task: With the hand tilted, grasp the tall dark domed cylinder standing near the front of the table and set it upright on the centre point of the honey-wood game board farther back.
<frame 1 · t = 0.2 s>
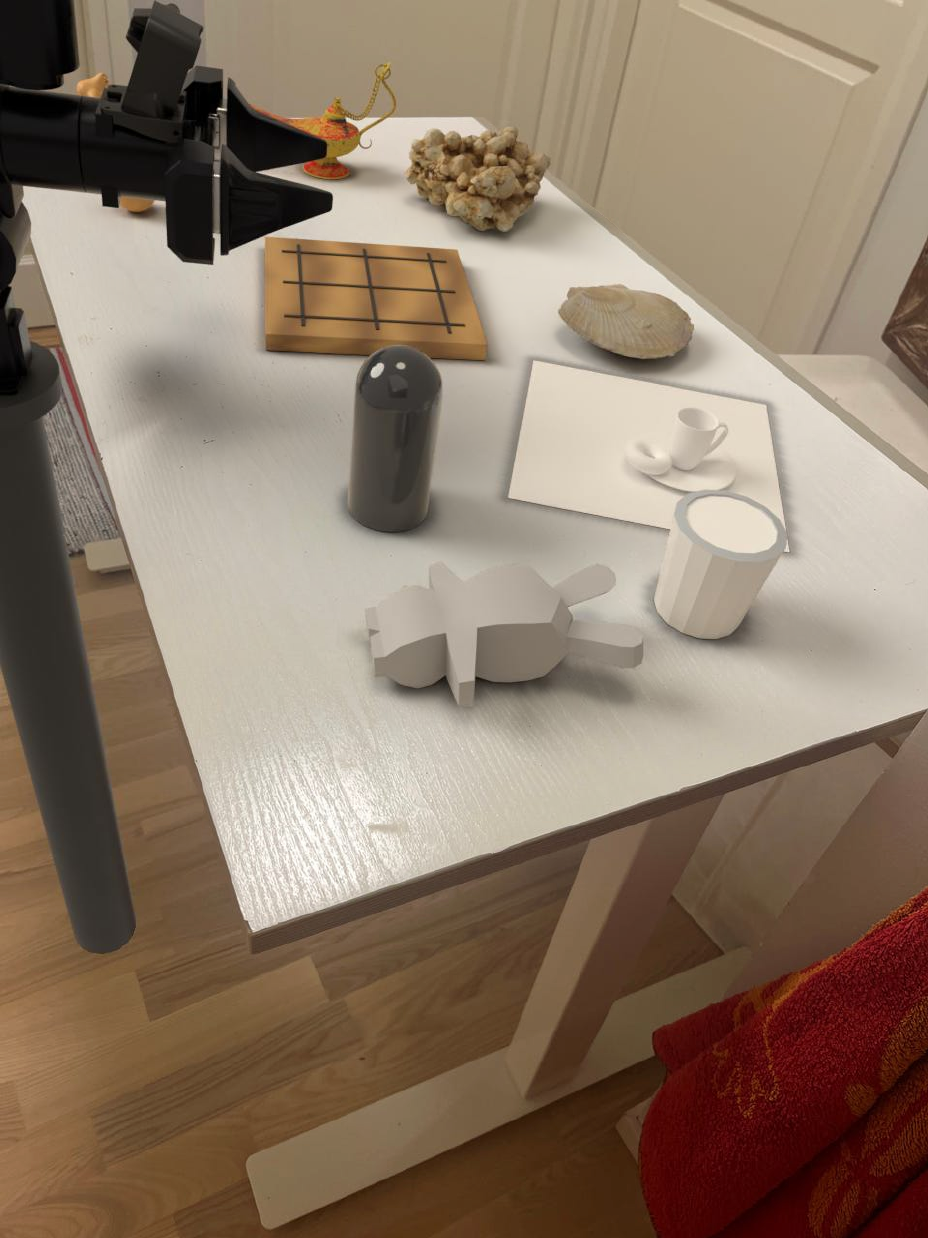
hand: (329, 174, 68), 15 cm above the table, tool horizontal, fingers open, 9 cm apart
seashell: (617, 340, 89), on the table
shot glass: (695, 610, 64), on the table
board: (369, 303, 88), on the table
teacup and saucer: (648, 449, 77), on the table
mineral formation: (484, 214, 106), on the table
magic lamp: (311, 171, 108), on the table
dark domed cylinder: (387, 506, 67), on the table
bunny figurine: (493, 658, 58), on the table
figurine: (125, 212, 95), on the table
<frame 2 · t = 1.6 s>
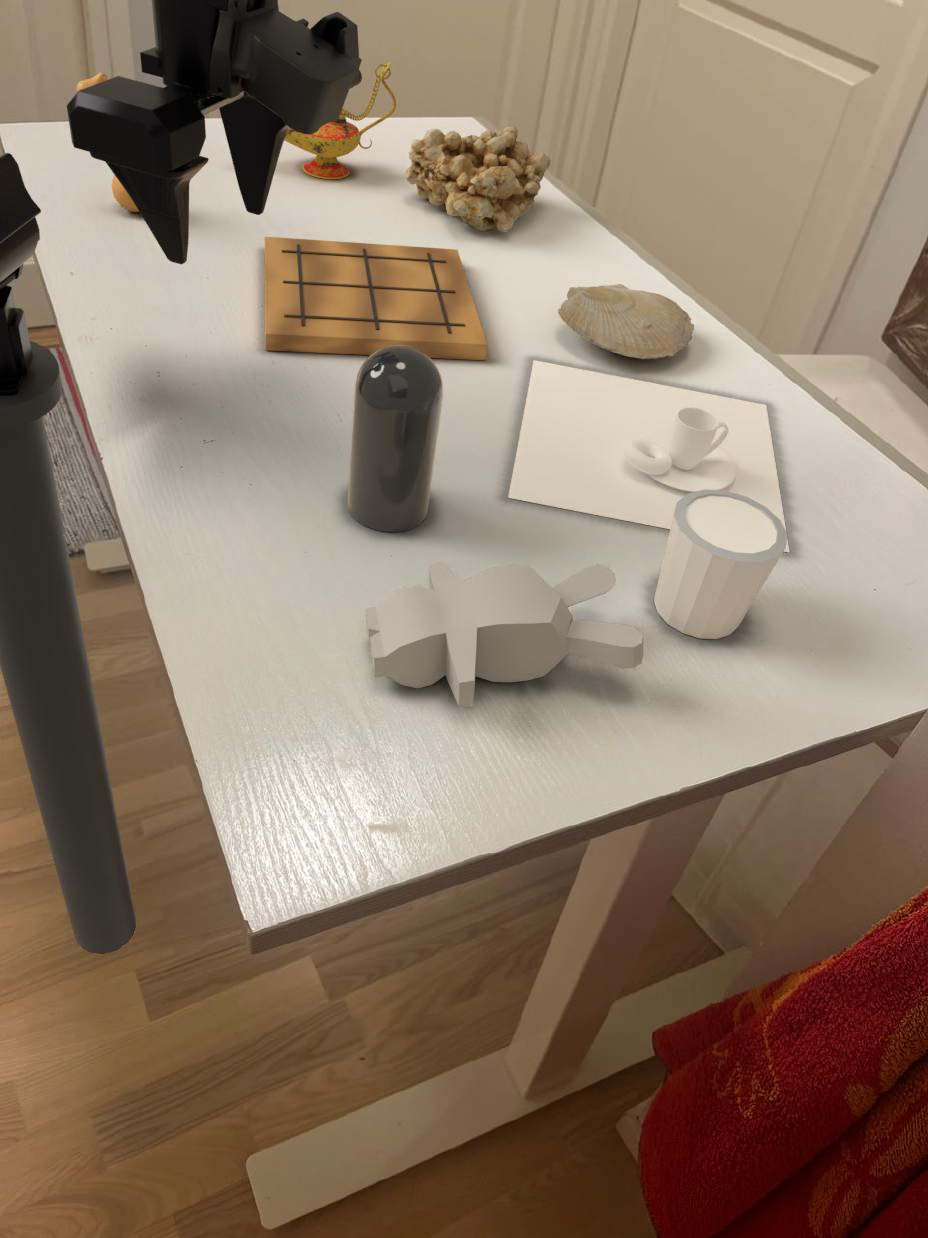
hand: (218, 236, 64), 13 cm above the table, tool pointing down, fingers open, 9 cm apart
nothing on the table moved.
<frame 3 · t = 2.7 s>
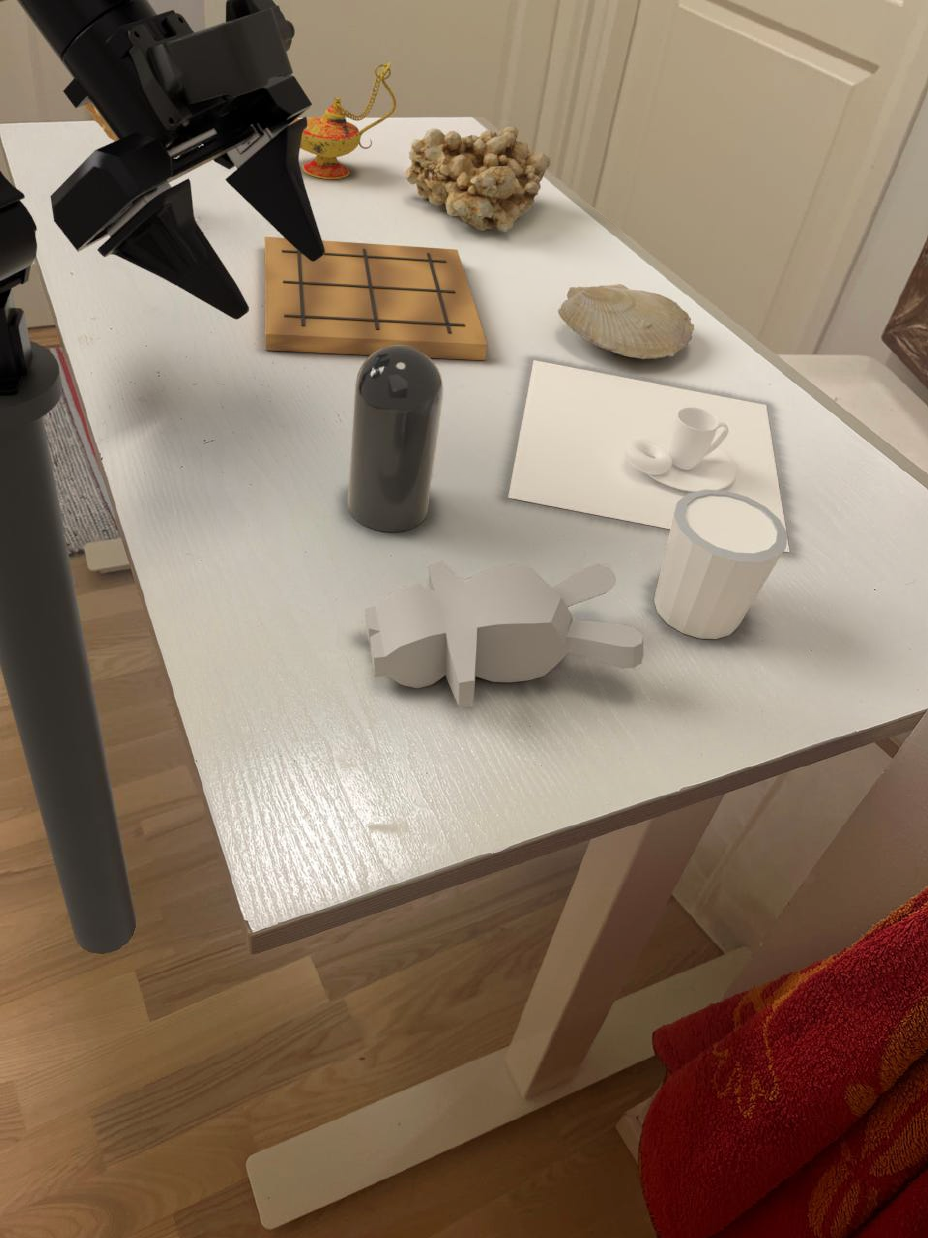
hand: (283, 284, 59), 13 cm above the table, tool tilted 45°, fingers open, 9 cm apart
nothing on the table moved.
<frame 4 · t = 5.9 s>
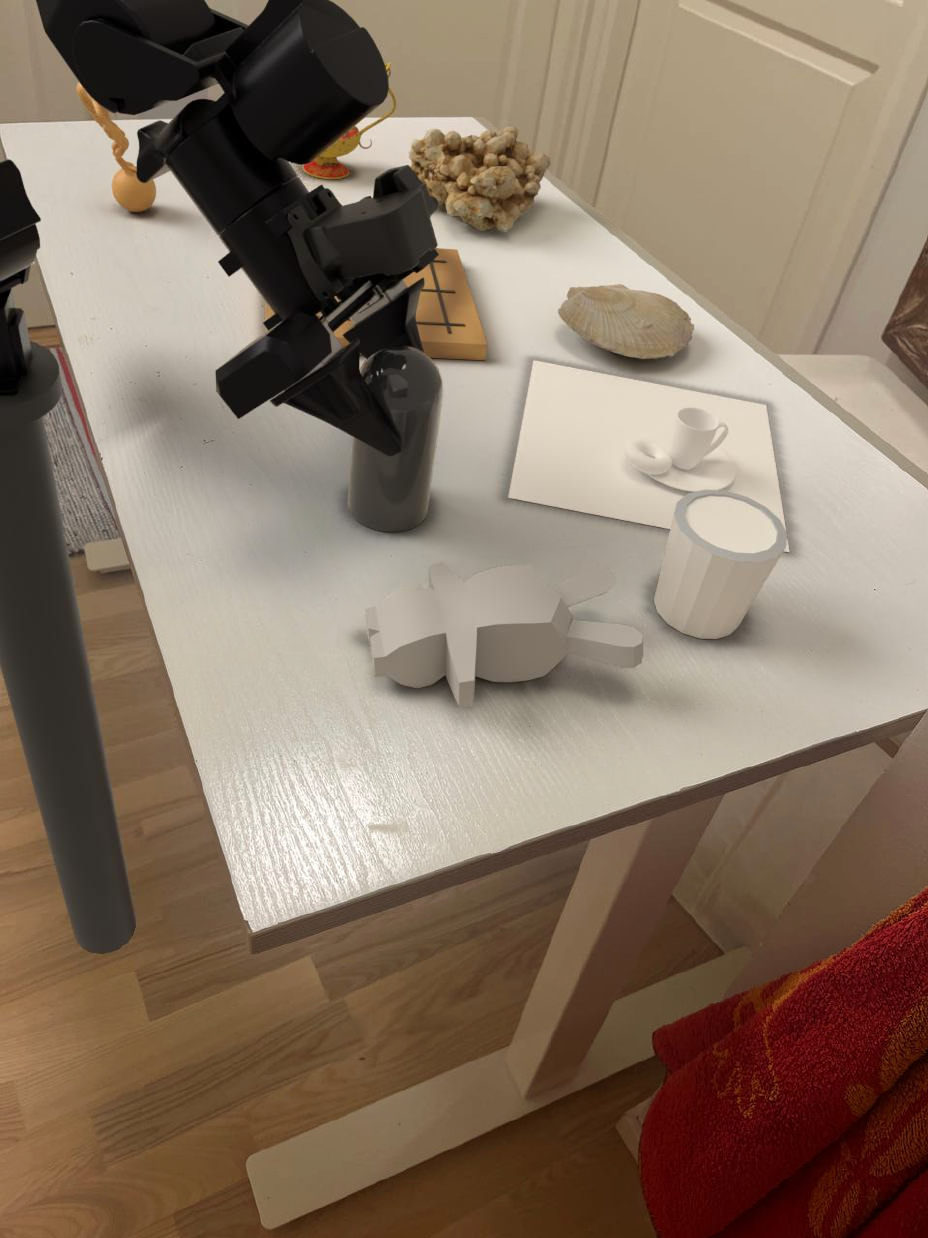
hand: (416, 430, 62), 7 cm above the table, tool tilted 45°, fingers closed on dark domed cylinder, 5 cm apart
dark domed cylinder: (387, 506, 67), on the table, touching gripper
everything else where it was.
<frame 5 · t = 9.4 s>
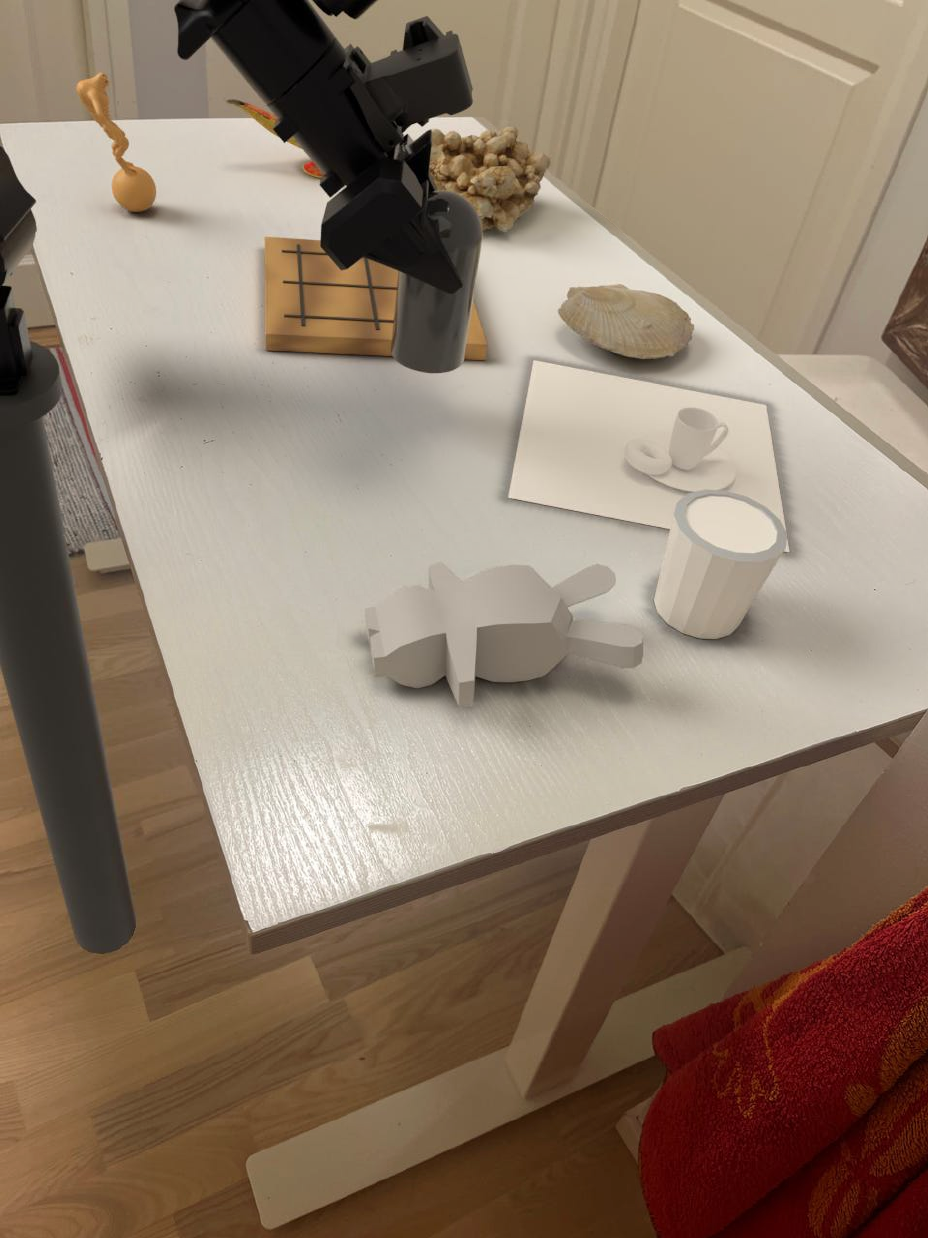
hand: (457, 270, 68), 11 cm above the table, tool tilted 45°, fingers closed on dark domed cylinder, 5 cm apart
dark domed cylinder: (427, 354, 73), point 5 cm above the table, touching gripper
everything else where it was.
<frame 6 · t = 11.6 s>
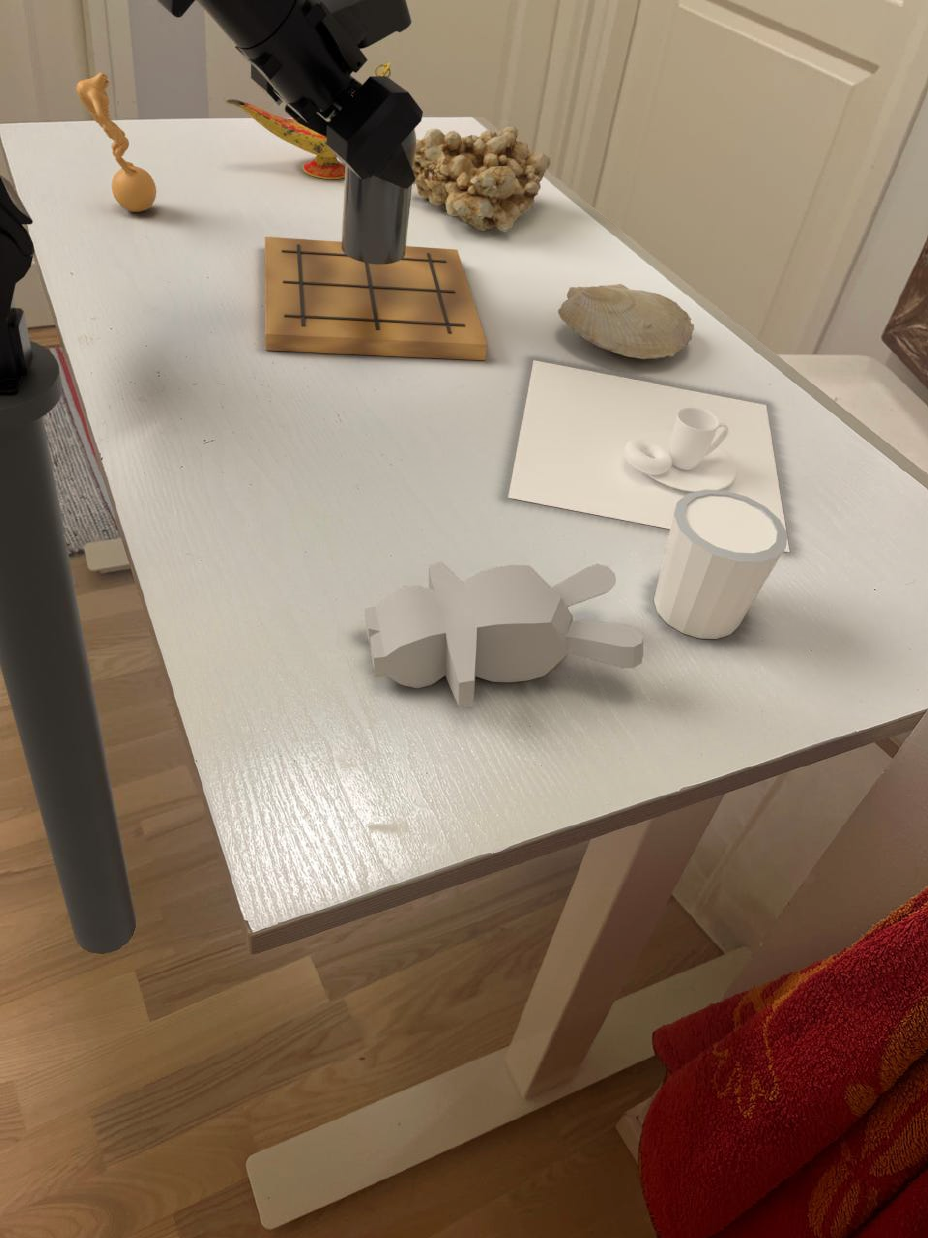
hand: (394, 169, 80), 11 cm above the table, tool tilted 45°, fingers closed on dark domed cylinder, 5 cm apart
dark domed cylinder: (373, 250, 84), point 5 cm above the table, touching gripper
everything else where it was.
when the fingers open (8 cm above the table, at t = 13.2 s): dark domed cylinder stays where it is, resting on board.
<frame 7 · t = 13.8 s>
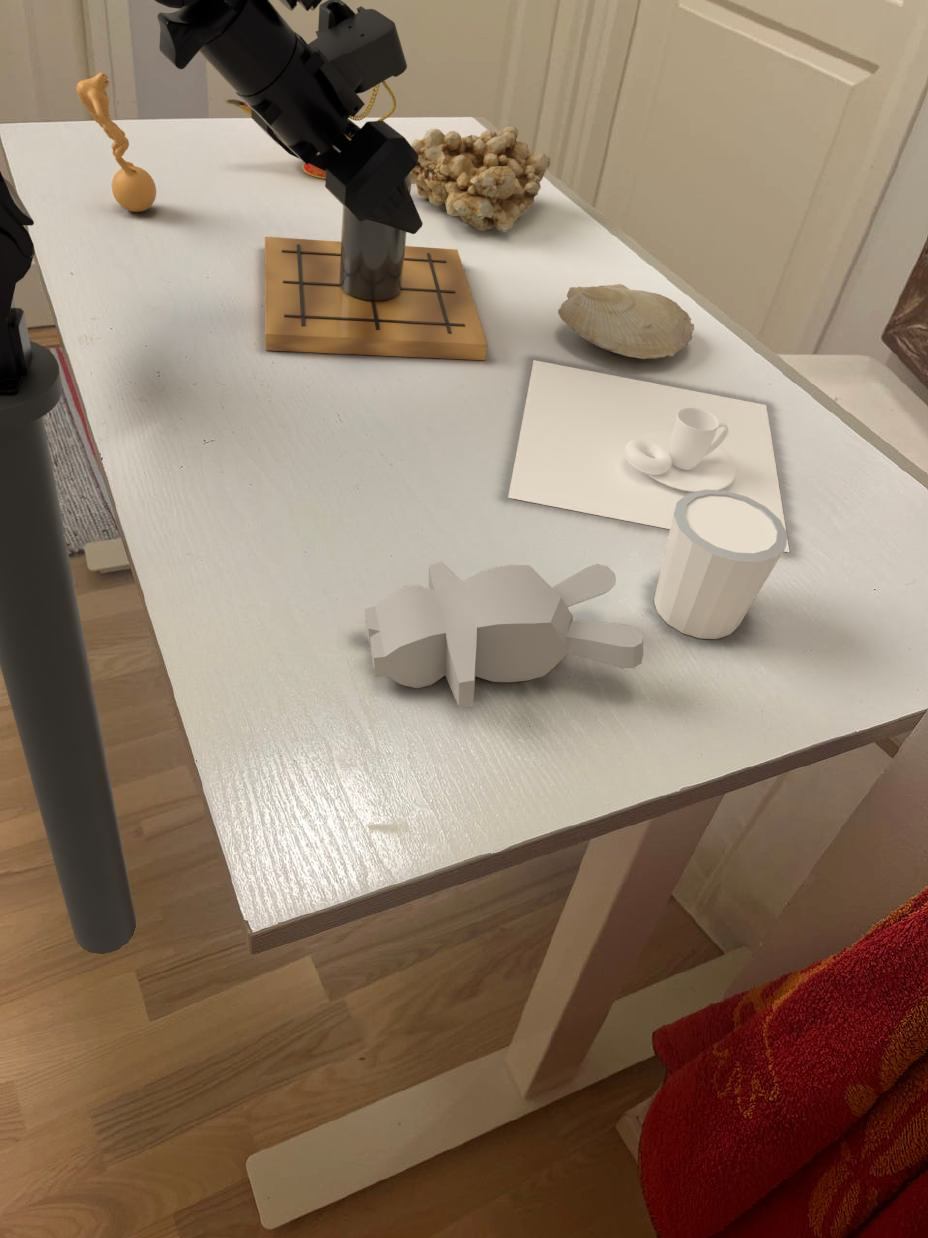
hand: (391, 205, 82), 8 cm above the table, tool tilted 45°, fingers open, 9 cm apart
dark domed cylinder: (370, 286, 86), point 2 cm above the table, touching board
everything else where it was.
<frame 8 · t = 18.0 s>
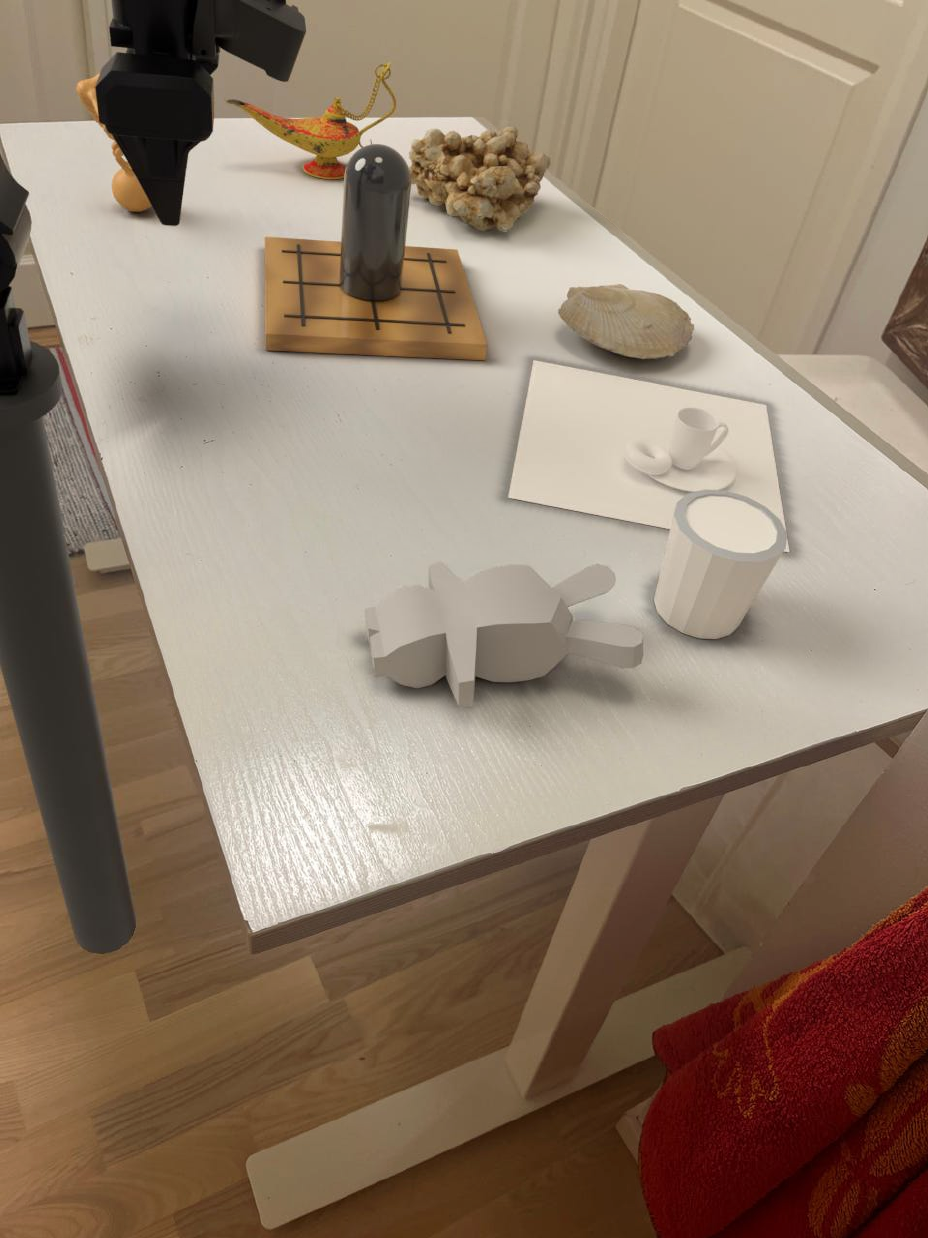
hand: (174, 195, 67), 13 cm above the table, tool pointing down, fingers open, 9 cm apart
nothing on the table moved.
at the end: dark domed cylinder 0.0 cm off-centre on the board, point 1.6 cm above the board's base; dark domed cylinder tilted 0°; the gripper is holding nothing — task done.
